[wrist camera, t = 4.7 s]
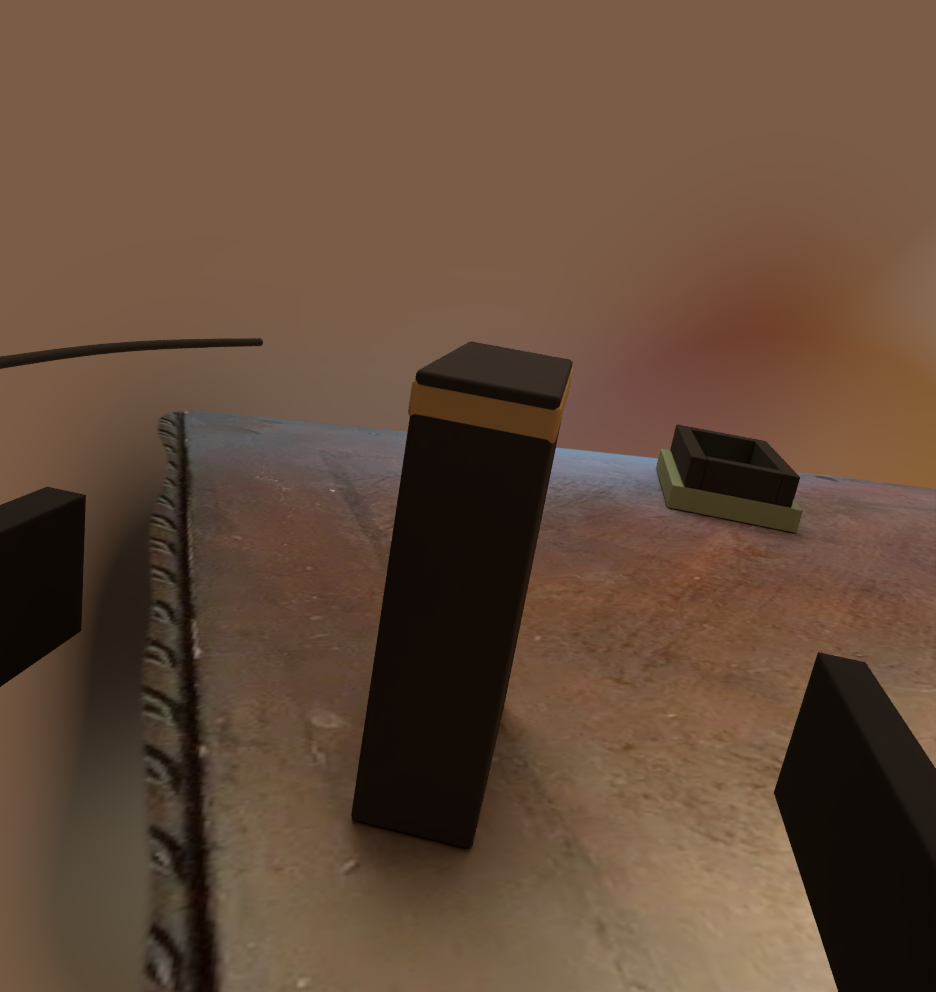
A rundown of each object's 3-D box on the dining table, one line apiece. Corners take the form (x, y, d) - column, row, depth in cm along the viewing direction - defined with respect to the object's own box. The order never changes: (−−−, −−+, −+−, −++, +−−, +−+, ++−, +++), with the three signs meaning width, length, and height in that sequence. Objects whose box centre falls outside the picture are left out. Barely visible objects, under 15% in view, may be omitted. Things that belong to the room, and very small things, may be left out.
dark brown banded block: (473, 851, 20) (563, 397, 17) (347, 820, 20) (413, 368, 17) (505, 704, 26) (575, 360, 23) (411, 682, 27) (466, 340, 24)
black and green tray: (796, 533, 52) (812, 479, 51) (667, 507, 52) (679, 453, 51) (763, 488, 62) (776, 443, 61) (656, 467, 63) (666, 422, 62)
